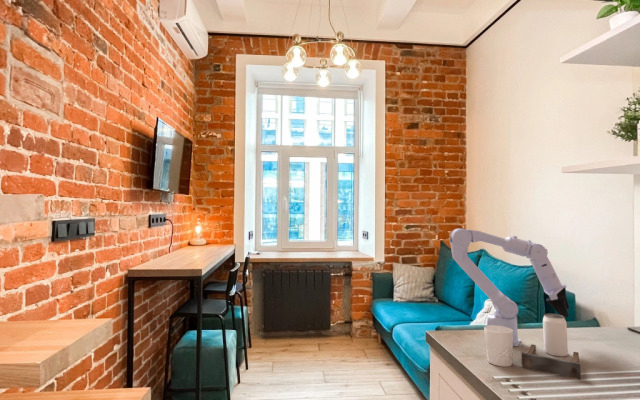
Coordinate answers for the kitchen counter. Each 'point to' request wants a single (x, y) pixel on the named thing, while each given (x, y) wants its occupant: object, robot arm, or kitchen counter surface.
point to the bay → (551, 364)
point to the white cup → (499, 345)
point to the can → (555, 335)
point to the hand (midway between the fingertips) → (565, 313)
